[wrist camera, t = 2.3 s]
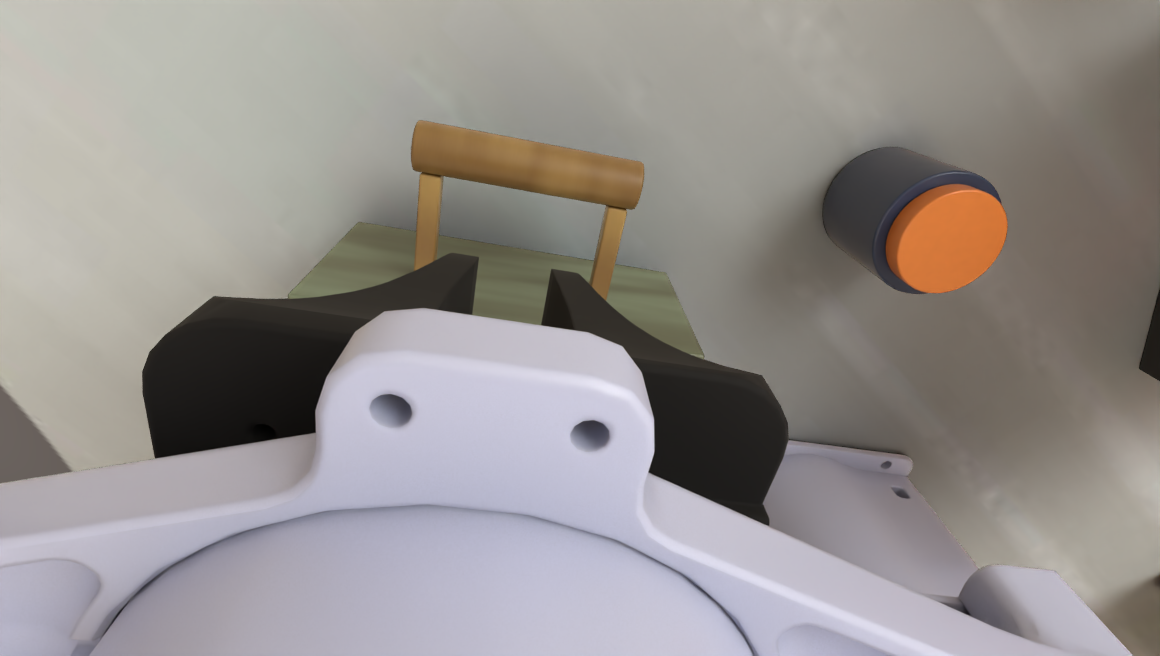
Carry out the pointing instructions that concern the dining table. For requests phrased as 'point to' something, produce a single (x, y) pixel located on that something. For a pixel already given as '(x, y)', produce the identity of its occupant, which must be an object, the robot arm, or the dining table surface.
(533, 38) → the dining table surface
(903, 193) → the navy jar orange lid
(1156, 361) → the cleaning product box
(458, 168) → the drawer
